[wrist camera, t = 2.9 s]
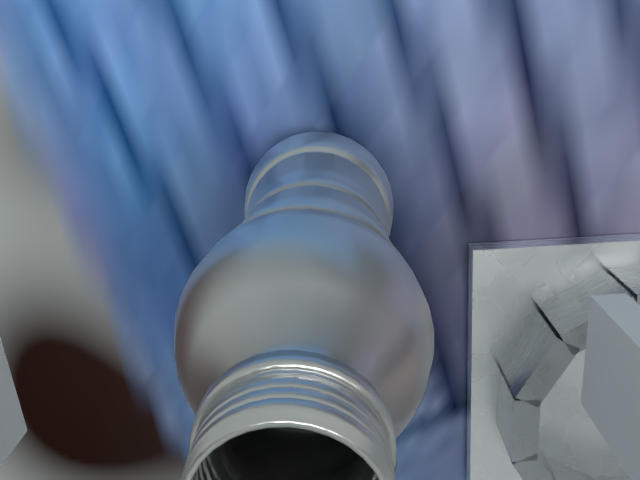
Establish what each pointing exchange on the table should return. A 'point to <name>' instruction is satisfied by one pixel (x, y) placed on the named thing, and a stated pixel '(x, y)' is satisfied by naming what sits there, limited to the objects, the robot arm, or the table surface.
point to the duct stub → (538, 355)
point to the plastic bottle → (304, 325)
